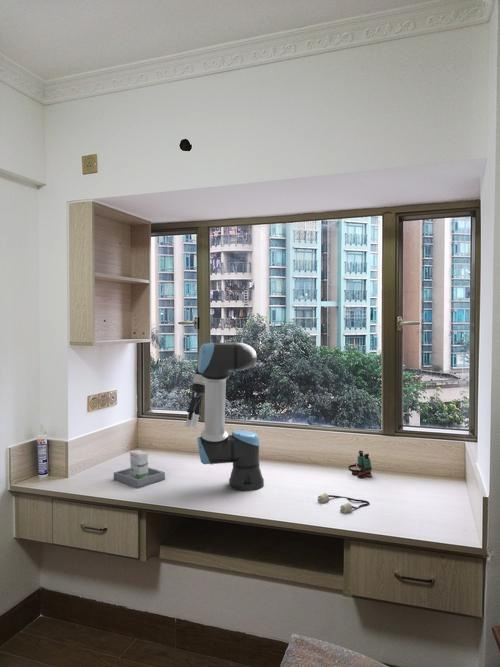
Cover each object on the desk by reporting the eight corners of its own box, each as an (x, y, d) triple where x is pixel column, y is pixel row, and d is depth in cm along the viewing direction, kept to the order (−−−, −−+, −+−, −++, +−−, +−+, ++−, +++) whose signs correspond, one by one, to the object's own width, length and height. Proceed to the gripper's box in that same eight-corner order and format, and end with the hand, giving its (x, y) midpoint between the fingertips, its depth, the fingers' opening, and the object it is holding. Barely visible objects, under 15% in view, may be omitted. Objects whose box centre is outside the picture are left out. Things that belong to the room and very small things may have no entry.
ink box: (149, 478, 236) (148, 452, 236) (139, 481, 233) (138, 454, 232) (139, 474, 243) (139, 449, 242) (130, 476, 240) (129, 451, 239)
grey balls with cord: (343, 494, 216) (343, 486, 215) (373, 506, 202) (373, 497, 202) (315, 502, 207) (315, 494, 207) (344, 515, 193) (344, 506, 193)
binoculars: (344, 453, 240) (362, 449, 244) (346, 475, 241) (364, 471, 244) (355, 458, 232) (373, 453, 235) (357, 481, 232) (376, 476, 236)
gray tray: (164, 479, 237) (164, 472, 237) (137, 488, 226) (137, 480, 226) (140, 472, 249) (140, 465, 249) (113, 480, 238) (113, 472, 238)
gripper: (203, 383, 245) (193, 428, 241) (211, 388, 270) (202, 429, 266) (188, 380, 246) (178, 424, 242) (197, 385, 270) (188, 426, 267)
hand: (190, 427), depth 254 cm, fingers open, 13 cm apart
